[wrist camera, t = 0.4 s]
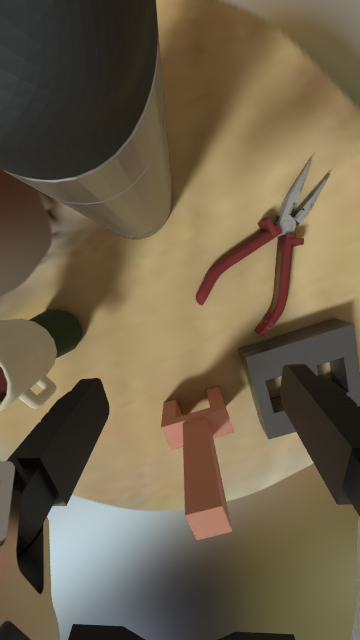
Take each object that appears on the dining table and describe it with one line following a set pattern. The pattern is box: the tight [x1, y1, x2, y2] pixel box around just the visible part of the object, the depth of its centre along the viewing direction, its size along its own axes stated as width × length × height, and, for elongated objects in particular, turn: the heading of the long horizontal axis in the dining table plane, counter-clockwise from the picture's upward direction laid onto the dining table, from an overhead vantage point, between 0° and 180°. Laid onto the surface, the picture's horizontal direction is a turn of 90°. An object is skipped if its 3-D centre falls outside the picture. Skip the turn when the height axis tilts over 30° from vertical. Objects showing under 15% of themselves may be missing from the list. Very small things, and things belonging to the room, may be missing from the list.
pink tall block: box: [161, 386, 234, 540], centre depth 24 cm, size 4×9×15 cm, turn 109°
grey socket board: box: [239, 318, 360, 439], centre depth 29 cm, size 14×14×3 cm
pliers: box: [196, 160, 330, 335], centre depth 25 cm, size 12×20×3 cm, turn 153°
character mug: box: [0, 310, 81, 411], centre depth 22 cm, size 11×7×13 cm, turn 40°
